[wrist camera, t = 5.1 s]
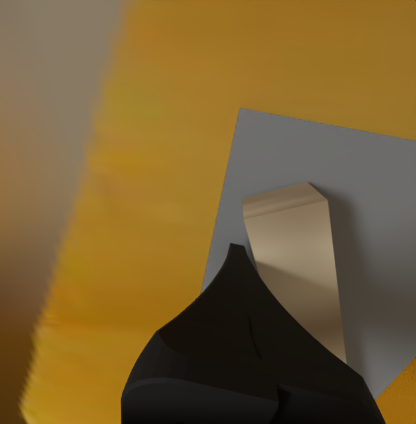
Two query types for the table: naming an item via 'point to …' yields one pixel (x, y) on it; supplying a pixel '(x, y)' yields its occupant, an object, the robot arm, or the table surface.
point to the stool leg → (298, 258)
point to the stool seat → (339, 225)
